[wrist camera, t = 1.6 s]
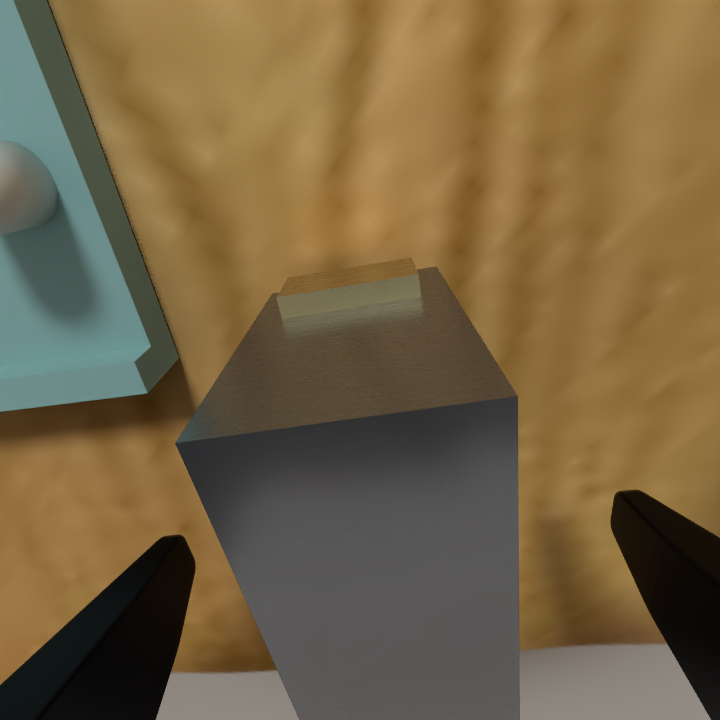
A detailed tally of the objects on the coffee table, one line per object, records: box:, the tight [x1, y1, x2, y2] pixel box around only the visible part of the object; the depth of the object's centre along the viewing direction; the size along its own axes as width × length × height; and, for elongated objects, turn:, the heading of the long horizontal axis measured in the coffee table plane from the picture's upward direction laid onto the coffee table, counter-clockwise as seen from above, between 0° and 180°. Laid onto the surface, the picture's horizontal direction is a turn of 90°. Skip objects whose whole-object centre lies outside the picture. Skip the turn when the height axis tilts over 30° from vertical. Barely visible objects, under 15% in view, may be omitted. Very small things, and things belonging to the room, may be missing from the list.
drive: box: [175, 258, 520, 720], centre depth 9 cm, size 4×9×6 cm, turn 10°
